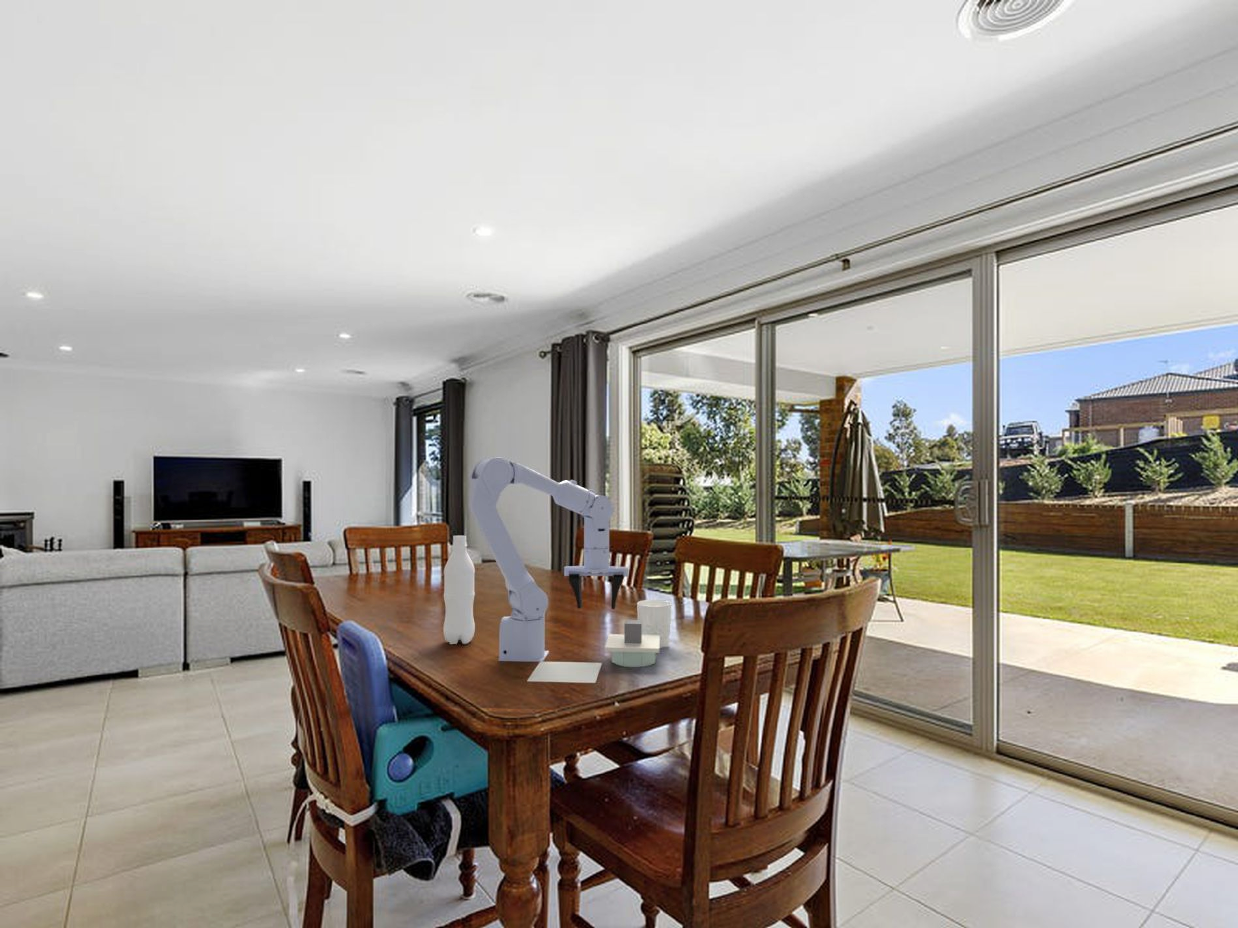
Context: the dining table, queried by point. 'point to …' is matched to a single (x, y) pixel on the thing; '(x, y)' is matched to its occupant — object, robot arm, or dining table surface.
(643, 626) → the white cup
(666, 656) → the dining table surface
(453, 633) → the water bottle
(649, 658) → the bowl
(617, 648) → the lid
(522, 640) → the robot arm
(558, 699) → the dining table surface
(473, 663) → the dining table surface
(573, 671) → the cream square tray
